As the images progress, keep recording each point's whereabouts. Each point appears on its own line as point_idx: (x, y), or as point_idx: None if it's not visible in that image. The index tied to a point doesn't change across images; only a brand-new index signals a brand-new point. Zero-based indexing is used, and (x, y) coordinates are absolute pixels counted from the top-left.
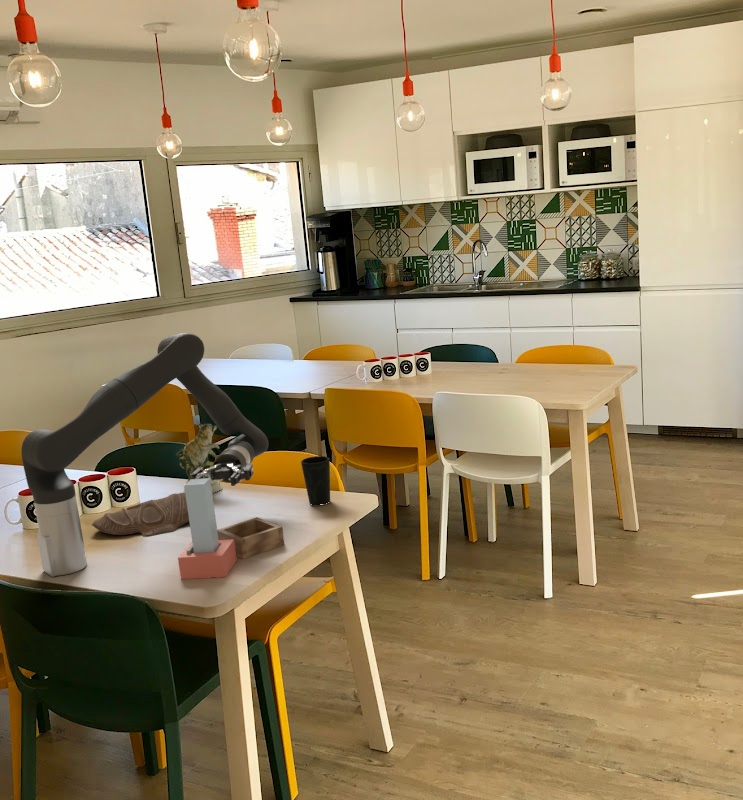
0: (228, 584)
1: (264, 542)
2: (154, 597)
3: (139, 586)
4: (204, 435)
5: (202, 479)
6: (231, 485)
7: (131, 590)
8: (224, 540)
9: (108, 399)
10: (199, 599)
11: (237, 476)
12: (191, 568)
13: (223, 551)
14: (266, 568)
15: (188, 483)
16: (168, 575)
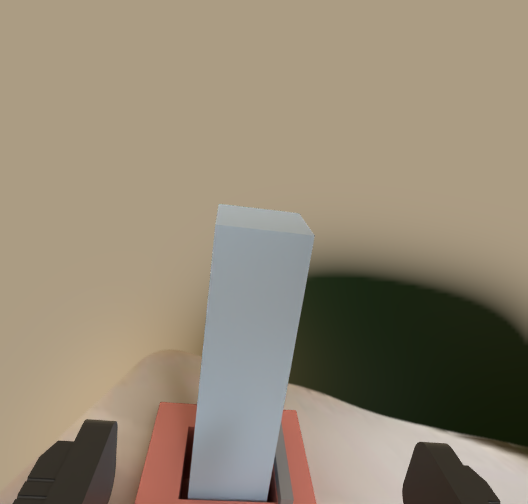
0: (142, 417)
1: None
2: (300, 389)
3: (375, 440)
4: None
5: (249, 224)
6: (113, 477)
7: (379, 424)
8: None
9: None
10: (198, 370)
11: (31, 480)
12: None
13: (159, 426)
14: (12, 500)
15: (292, 217)
16: (340, 494)
